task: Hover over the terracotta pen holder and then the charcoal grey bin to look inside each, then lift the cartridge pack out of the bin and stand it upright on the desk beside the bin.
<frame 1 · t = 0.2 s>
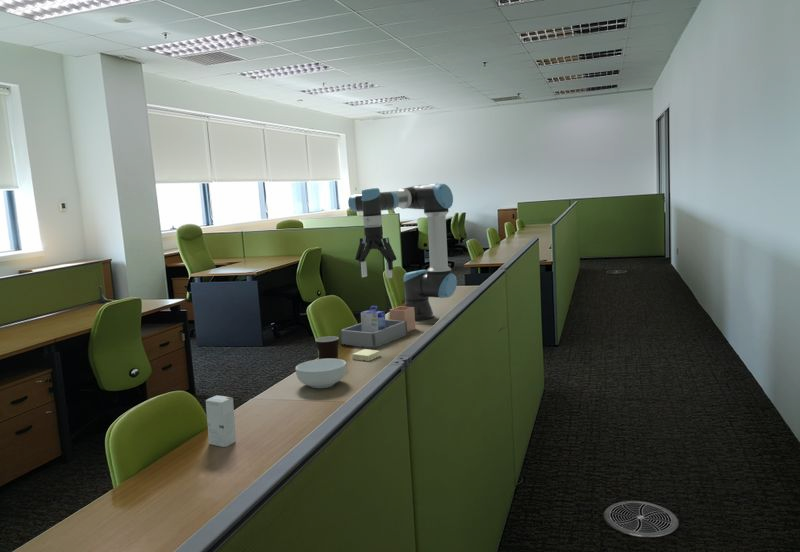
hand: (376, 277, 257), 28 cm above the table, tool pointing down, fingers open, 13 cm apart
cereal bowl: (322, 385, 208), on the table
ink cartridge box: (374, 339, 267), resting in grey bin
grey bin: (374, 339, 267), on the table
coffee mug: (330, 364, 233), on the table
sticky note pad: (366, 358, 239), on the table
skincare box: (223, 443, 163), on the table
pen holder: (403, 330, 282), on the table
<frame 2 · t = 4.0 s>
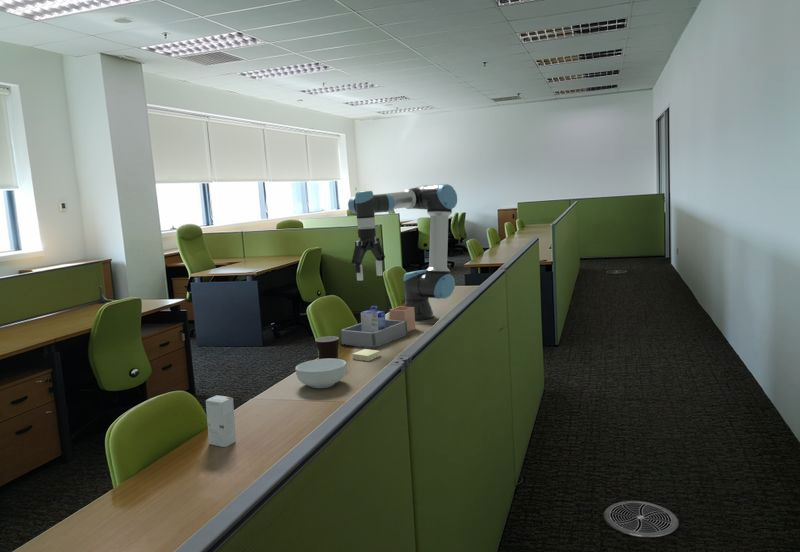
hand: (370, 278, 264), 27 cm above the table, tool pointing down, fingers open, 13 cm apart
nothing on the table moved.
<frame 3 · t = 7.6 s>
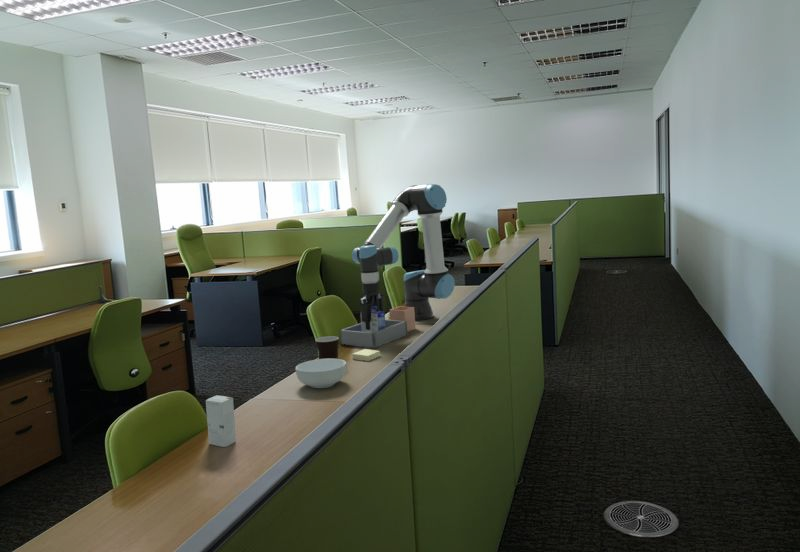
hand: (374, 335, 267), 2 cm above the table, tool pointing down, fingers closed on ink cartridge box, 5 cm apart
ink cartridge box: (374, 339, 267), resting in grey bin, touching gripper
everything else where it was.
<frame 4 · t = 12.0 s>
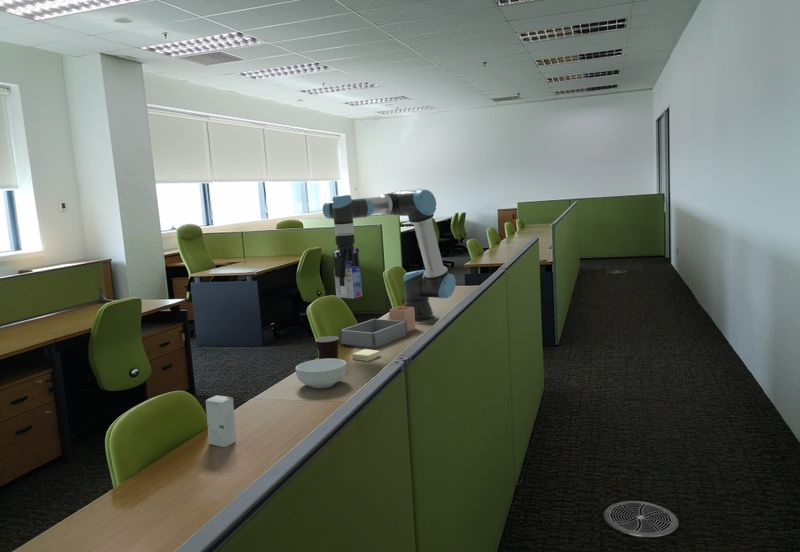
hand: (349, 292, 248), 24 cm above the table, tool pointing down, fingers closed on ink cartridge box, 5 cm apart
ink cartridge box: (349, 297, 248), point 22 cm above the table, touching gripper
everything else where it was.
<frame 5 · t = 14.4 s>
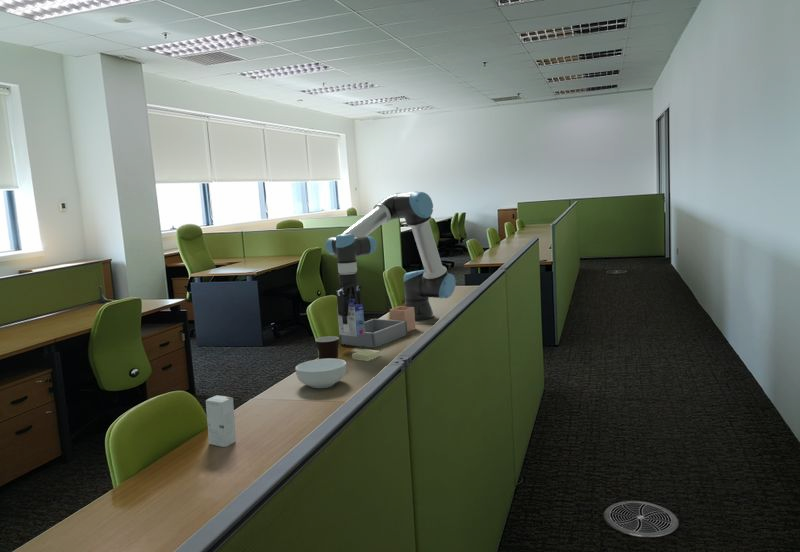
hand: (352, 330, 250), 8 cm above the table, tool pointing down, fingers closed on ink cartridge box, 5 cm apart
ink cartridge box: (352, 334, 250), point 6 cm above the table, touching gripper
everything else where it was.
when the fingers open (3 cm above the table, at t = 16.3 s): ink cartridge box drops 1 cm, on the table.
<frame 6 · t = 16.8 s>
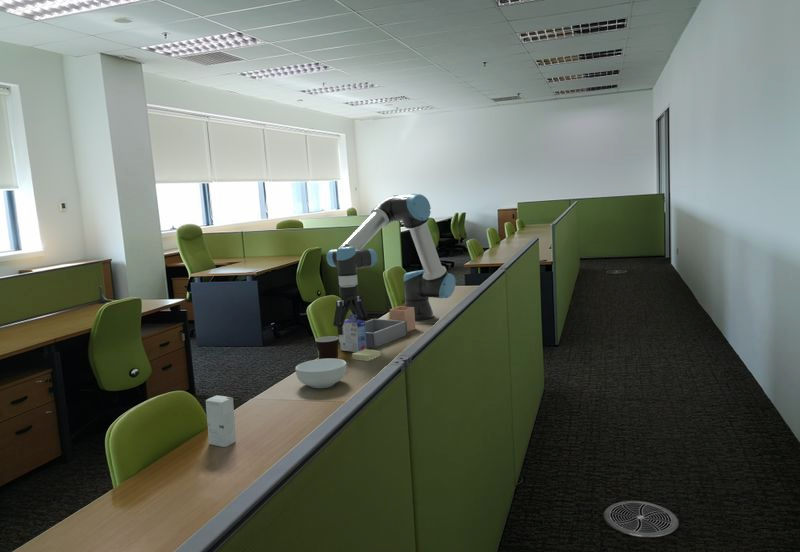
hand: (352, 339, 250), 5 cm above the table, tool pointing down, fingers open, 11 cm apart
ink cartridge box: (354, 350, 251), on the table
everything else where it was.
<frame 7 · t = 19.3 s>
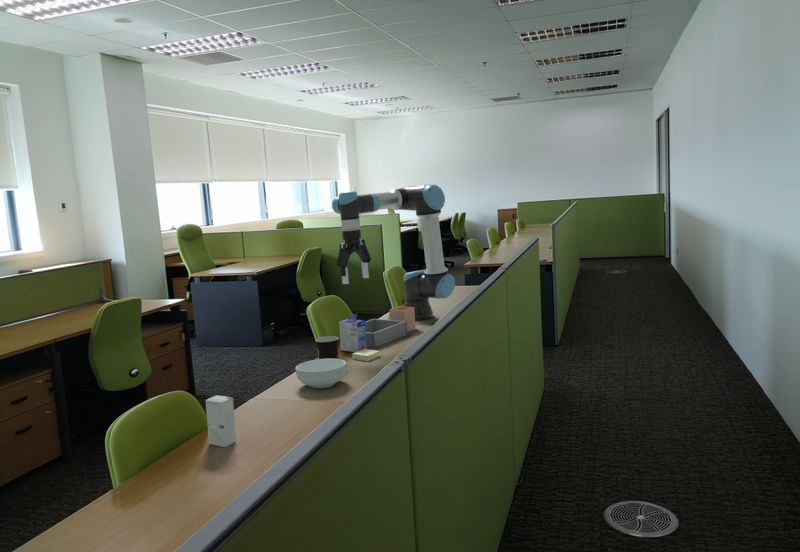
hand: (356, 280, 257), 27 cm above the table, tool pointing down, fingers open, 13 cm apart
nothing on the table moved.
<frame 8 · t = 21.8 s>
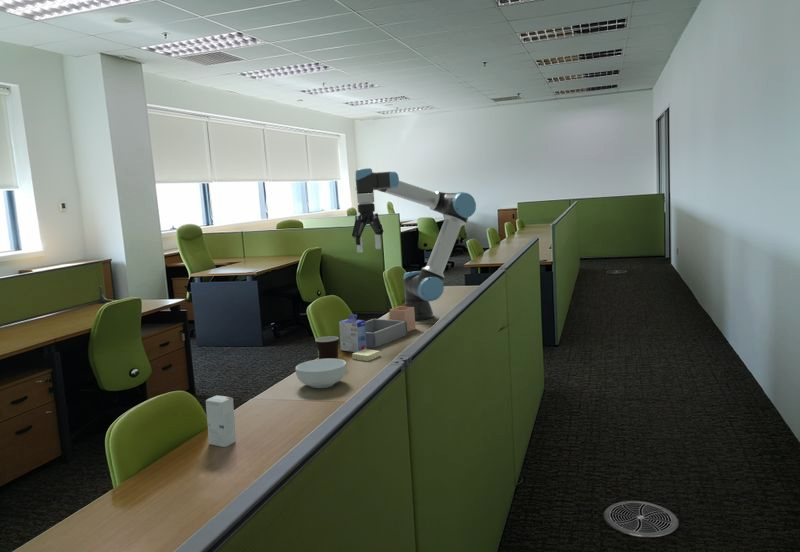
hand: (369, 250, 281), 37 cm above the table, tool pointing down, fingers open, 13 cm apart
nothing on the table moved.
at the end: ink cartridge box inside the target area (0.2 cm from its centre), on the table; ink cartridge box tilted 0°; the gripper is holding nothing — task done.
